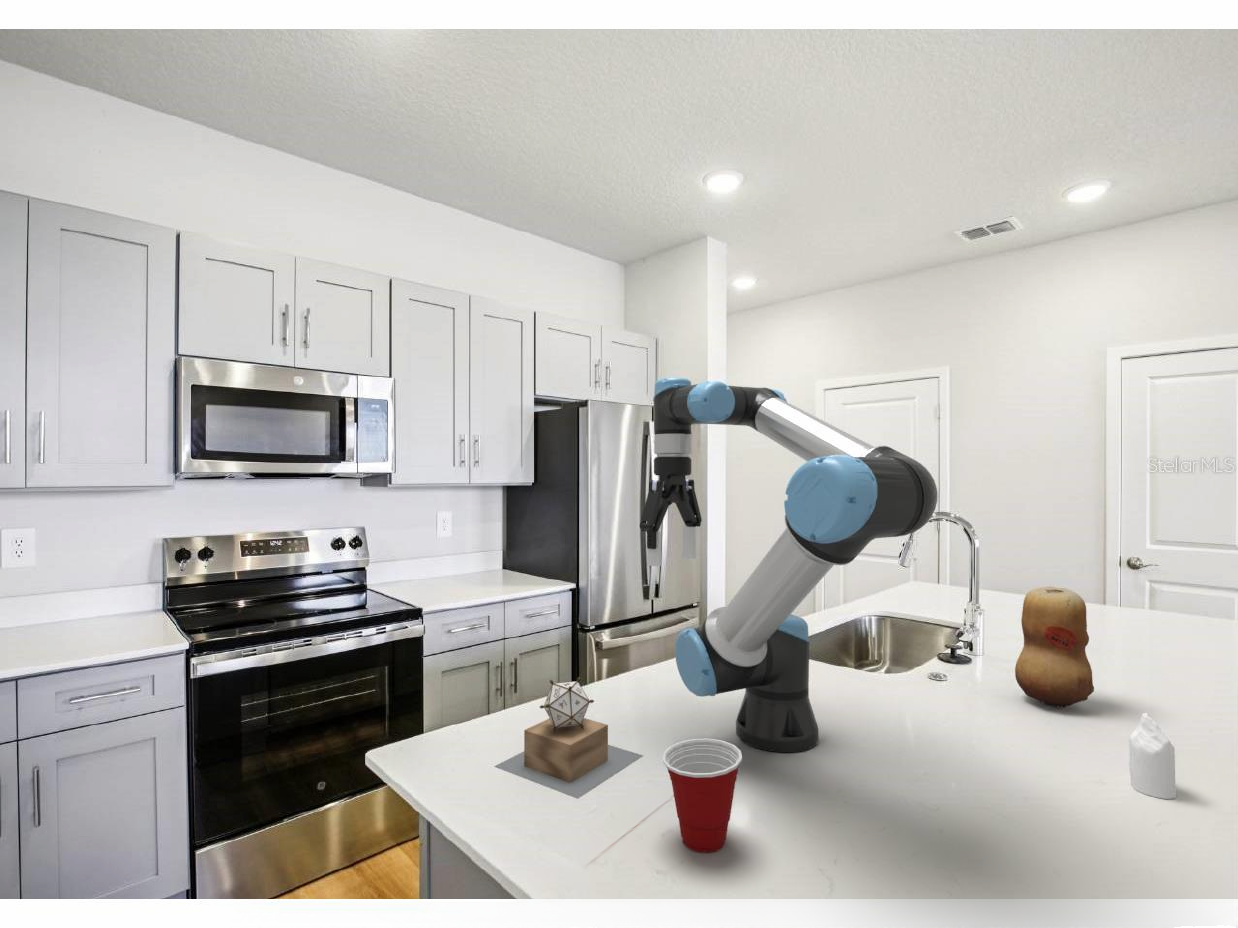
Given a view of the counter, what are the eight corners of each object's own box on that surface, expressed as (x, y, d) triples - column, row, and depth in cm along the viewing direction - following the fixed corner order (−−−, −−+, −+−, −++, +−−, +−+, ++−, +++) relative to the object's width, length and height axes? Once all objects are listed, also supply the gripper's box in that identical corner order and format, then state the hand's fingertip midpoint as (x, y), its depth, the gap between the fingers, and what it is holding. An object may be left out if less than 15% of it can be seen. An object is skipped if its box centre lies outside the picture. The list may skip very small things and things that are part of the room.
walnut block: (607, 759, 111) (607, 724, 111) (570, 782, 103) (570, 744, 103) (563, 745, 117) (563, 711, 117) (524, 765, 109) (524, 730, 109)
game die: (573, 753, 108) (582, 719, 103) (528, 730, 110) (534, 695, 104) (595, 711, 115) (604, 677, 110) (552, 690, 117) (559, 655, 111)
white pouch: (1185, 721, 100) (1148, 721, 100) (1185, 799, 99) (1148, 799, 100) (1154, 707, 106) (1119, 706, 106) (1154, 780, 105) (1119, 780, 106)
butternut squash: (1021, 711, 136) (1021, 591, 136) (1010, 690, 148) (1010, 581, 148) (1102, 721, 130) (1102, 596, 130) (1083, 699, 143) (1083, 585, 143)
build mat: (643, 758, 113) (643, 755, 113) (577, 802, 98) (577, 798, 98) (564, 733, 123) (564, 730, 123) (494, 769, 109) (494, 766, 109)
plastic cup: (656, 820, 93) (656, 736, 93) (730, 817, 94) (730, 734, 94) (668, 867, 82) (668, 772, 82) (752, 863, 83) (752, 769, 83)
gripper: (687, 457, 143) (686, 553, 143) (621, 455, 123) (621, 567, 123) (717, 456, 139) (717, 556, 139) (655, 454, 118) (654, 571, 118)
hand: (672, 561), depth 131 cm, fingers open, 13 cm apart
